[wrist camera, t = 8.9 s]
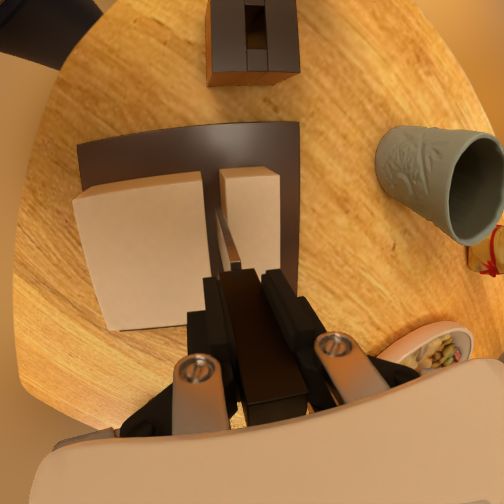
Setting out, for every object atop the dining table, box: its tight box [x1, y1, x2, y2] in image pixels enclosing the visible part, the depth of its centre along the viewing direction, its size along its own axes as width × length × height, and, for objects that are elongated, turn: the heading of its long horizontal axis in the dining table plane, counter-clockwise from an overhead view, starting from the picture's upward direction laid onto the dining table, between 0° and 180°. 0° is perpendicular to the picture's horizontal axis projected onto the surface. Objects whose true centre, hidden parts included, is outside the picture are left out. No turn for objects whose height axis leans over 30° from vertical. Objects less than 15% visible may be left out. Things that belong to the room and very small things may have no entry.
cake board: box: [77, 122, 300, 332], centre depth 27 cm, size 20×20×1 cm
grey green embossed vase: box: [375, 126, 504, 246], centre depth 24 cm, size 10×10×12 cm
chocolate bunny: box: [468, 225, 504, 277], centre depth 30 cm, size 7×11×15 cm, turn 25°
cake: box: [72, 171, 211, 331], centre depth 24 cm, size 12×10×5 cm
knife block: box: [205, 0, 300, 87], centre depth 18 cm, size 7×6×7 cm
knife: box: [215, 207, 309, 427], centre depth 14 cm, size 3×2×16 cm, turn 2°
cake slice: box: [219, 166, 280, 282], centre depth 25 cm, size 12×4×5 cm, turn 2°
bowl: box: [376, 321, 474, 372], centre depth 43 cm, size 30×30×8 cm
